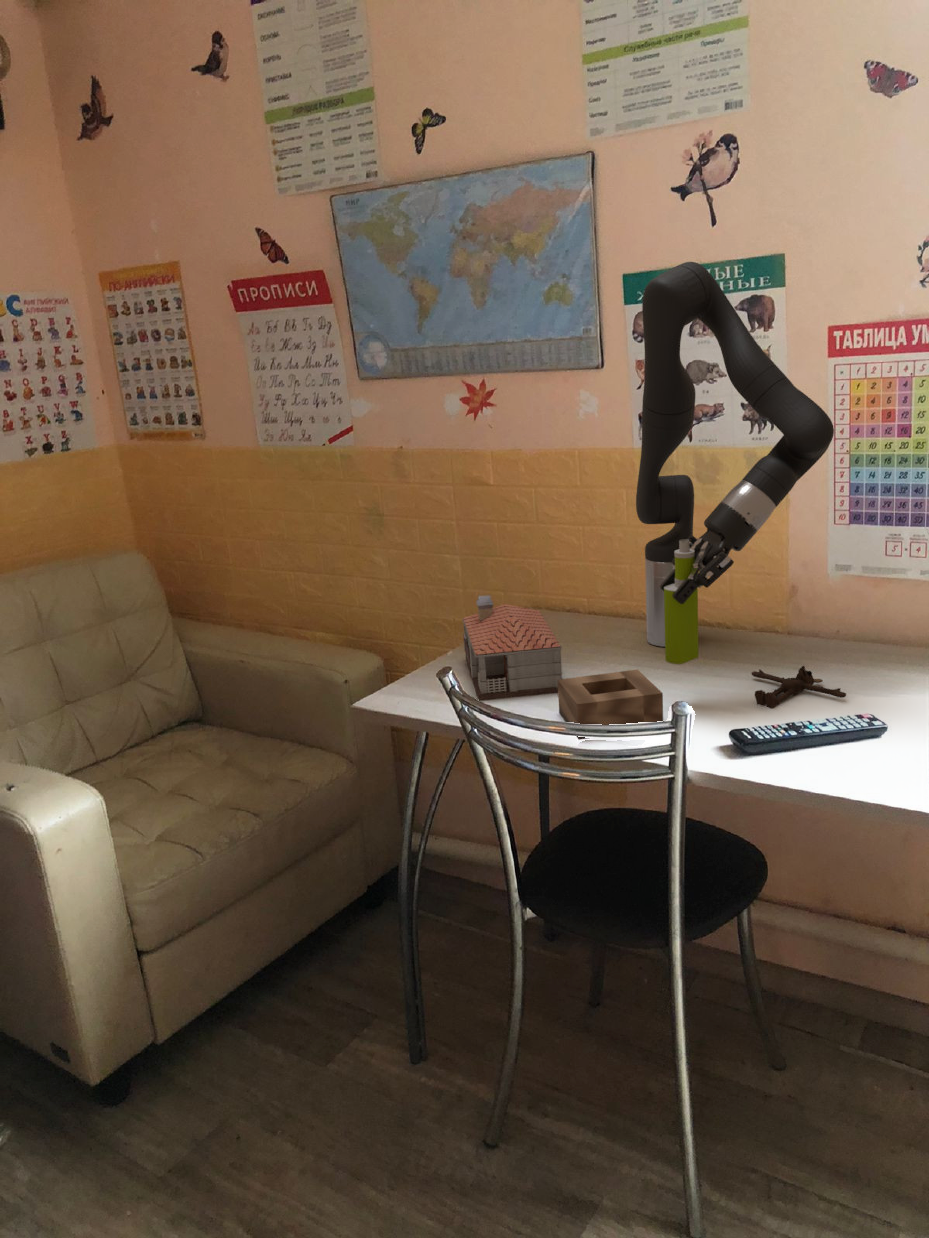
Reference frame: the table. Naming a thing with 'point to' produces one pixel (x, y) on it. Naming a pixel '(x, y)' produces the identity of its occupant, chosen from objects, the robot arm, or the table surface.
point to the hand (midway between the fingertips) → (670, 595)
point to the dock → (610, 699)
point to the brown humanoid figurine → (790, 687)
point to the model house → (510, 652)
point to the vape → (681, 612)
